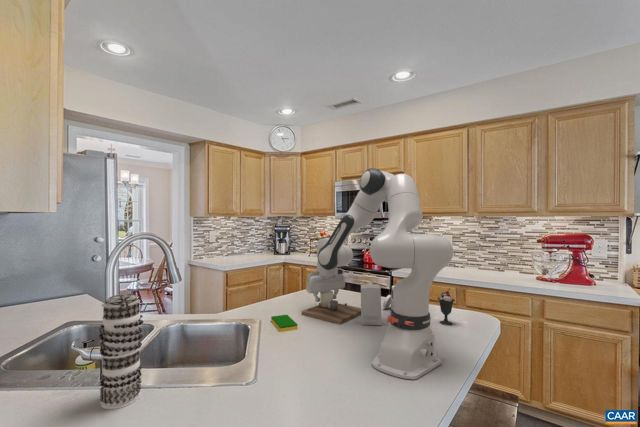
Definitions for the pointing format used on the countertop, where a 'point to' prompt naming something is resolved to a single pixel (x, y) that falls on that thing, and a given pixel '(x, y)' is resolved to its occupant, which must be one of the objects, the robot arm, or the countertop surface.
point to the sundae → (446, 306)
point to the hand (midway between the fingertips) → (326, 300)
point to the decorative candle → (120, 351)
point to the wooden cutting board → (333, 313)
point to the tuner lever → (328, 300)
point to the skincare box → (371, 304)
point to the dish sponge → (284, 323)
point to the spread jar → (389, 300)
